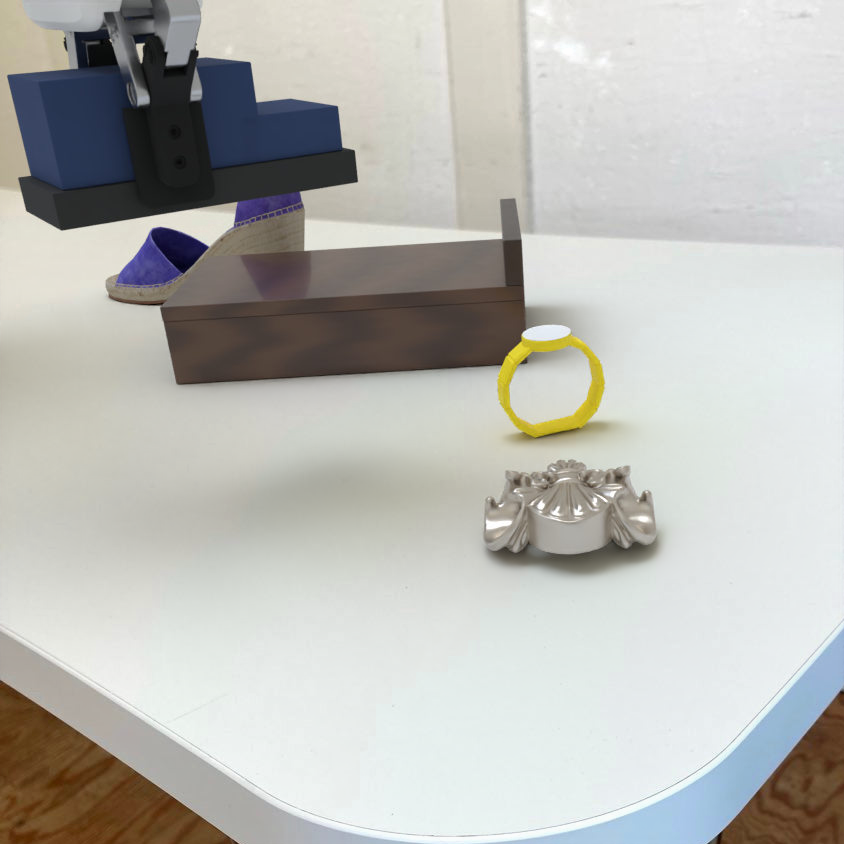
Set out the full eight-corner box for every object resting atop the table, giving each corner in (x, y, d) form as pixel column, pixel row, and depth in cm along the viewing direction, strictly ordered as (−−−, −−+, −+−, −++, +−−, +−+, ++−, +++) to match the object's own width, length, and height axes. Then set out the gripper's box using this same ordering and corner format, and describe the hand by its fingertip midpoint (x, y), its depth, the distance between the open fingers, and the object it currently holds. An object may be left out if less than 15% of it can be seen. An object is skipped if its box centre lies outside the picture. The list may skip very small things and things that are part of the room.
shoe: (61, 231, 44) (26, 83, 41) (26, 211, 48) (-8, 75, 45) (358, 182, 51) (345, 53, 48) (306, 169, 55) (291, 49, 52)
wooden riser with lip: (175, 384, 72) (149, 261, 68) (220, 324, 85) (201, 217, 81) (528, 363, 72) (521, 239, 68) (521, 305, 85) (515, 198, 81)
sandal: (155, 276, 100) (120, 107, 93) (329, 291, 92) (305, 107, 85) (90, 299, 94) (47, 120, 87) (271, 318, 85) (239, 121, 79)
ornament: (648, 501, 53) (648, 433, 51) (662, 570, 47) (663, 496, 45) (487, 507, 53) (482, 440, 51) (481, 577, 47) (475, 504, 45)
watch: (594, 414, 63) (592, 317, 61) (610, 431, 61) (609, 330, 58) (497, 429, 62) (490, 331, 59) (509, 447, 60) (503, 345, 57)
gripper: (-92, -268, 44) (18, 181, 52) (13, -372, 32) (136, 238, 40) (90, -256, 48) (166, 161, 56) (247, -344, 36) (315, 207, 44)
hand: (152, 188), depth 48 cm, fingers closed on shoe, 5 cm apart
